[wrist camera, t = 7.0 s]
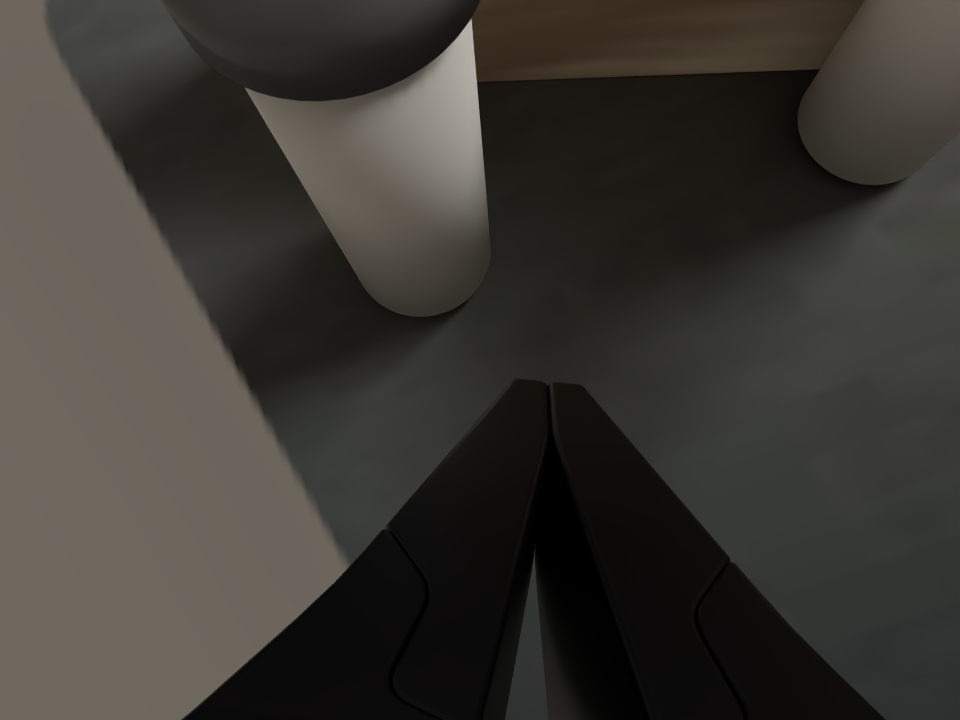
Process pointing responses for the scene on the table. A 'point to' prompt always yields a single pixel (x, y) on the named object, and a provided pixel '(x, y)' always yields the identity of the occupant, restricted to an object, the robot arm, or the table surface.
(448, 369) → the table surface
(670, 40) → the mount
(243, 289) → the table surface
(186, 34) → the grey capped bottle
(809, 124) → the white cylinder
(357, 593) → the robot arm
